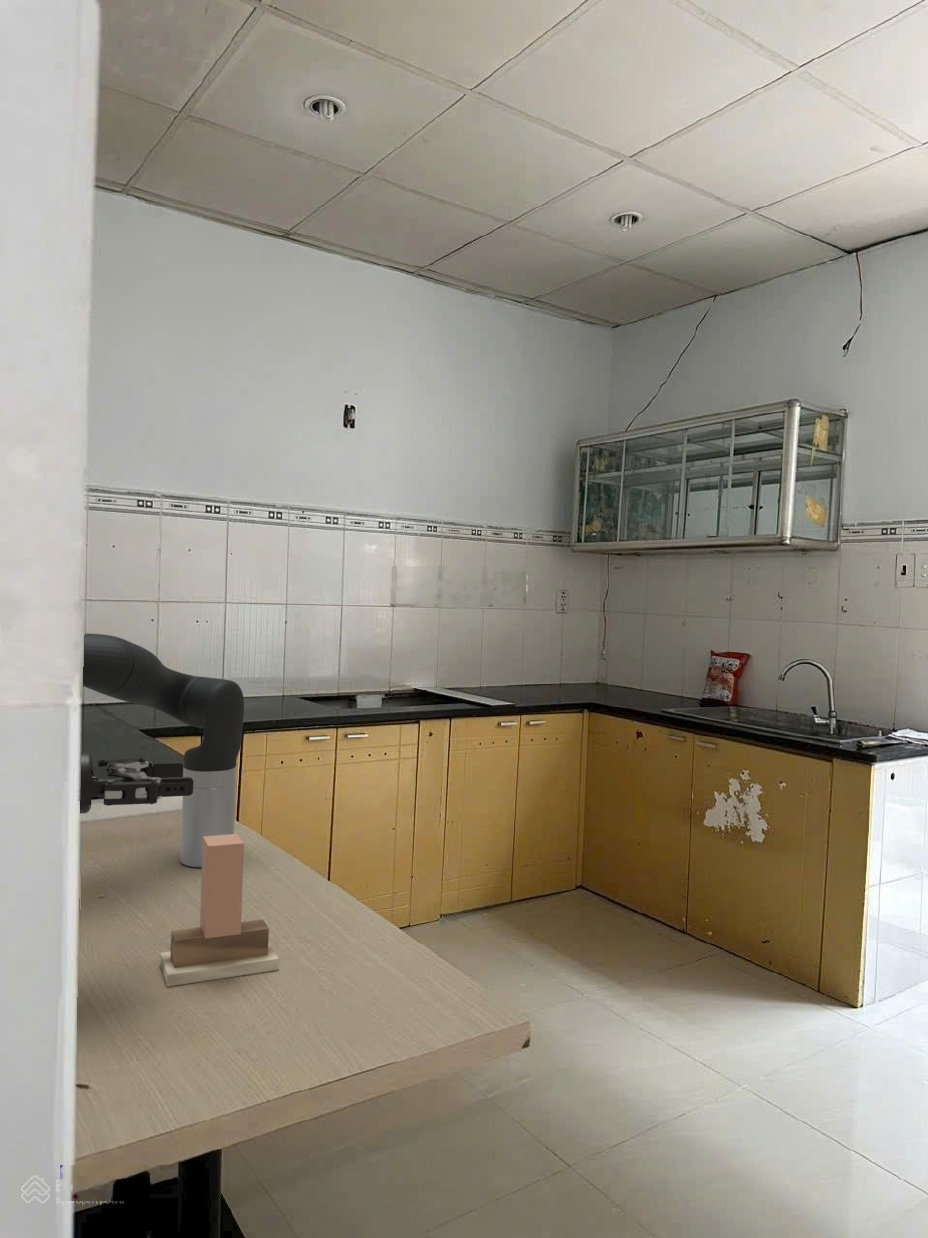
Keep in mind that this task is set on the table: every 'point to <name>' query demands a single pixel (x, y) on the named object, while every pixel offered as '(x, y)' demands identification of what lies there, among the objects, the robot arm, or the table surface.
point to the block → (221, 885)
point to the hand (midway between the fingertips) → (187, 778)
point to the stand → (218, 954)
